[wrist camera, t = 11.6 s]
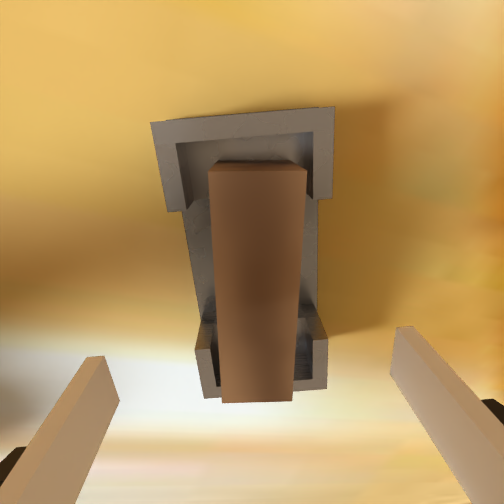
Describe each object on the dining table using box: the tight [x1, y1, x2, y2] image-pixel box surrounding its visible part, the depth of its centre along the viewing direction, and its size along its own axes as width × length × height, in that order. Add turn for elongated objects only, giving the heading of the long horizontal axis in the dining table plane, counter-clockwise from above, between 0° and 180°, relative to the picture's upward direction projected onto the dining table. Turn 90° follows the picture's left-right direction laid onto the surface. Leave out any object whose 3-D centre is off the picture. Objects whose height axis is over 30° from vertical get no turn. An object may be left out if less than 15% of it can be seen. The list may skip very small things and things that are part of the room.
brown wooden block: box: [208, 160, 307, 403], centre depth 20 cm, size 5×16×6 cm, turn 0°
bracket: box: [150, 107, 335, 399], centre depth 23 cm, size 11×22×6 cm, turn 5°
